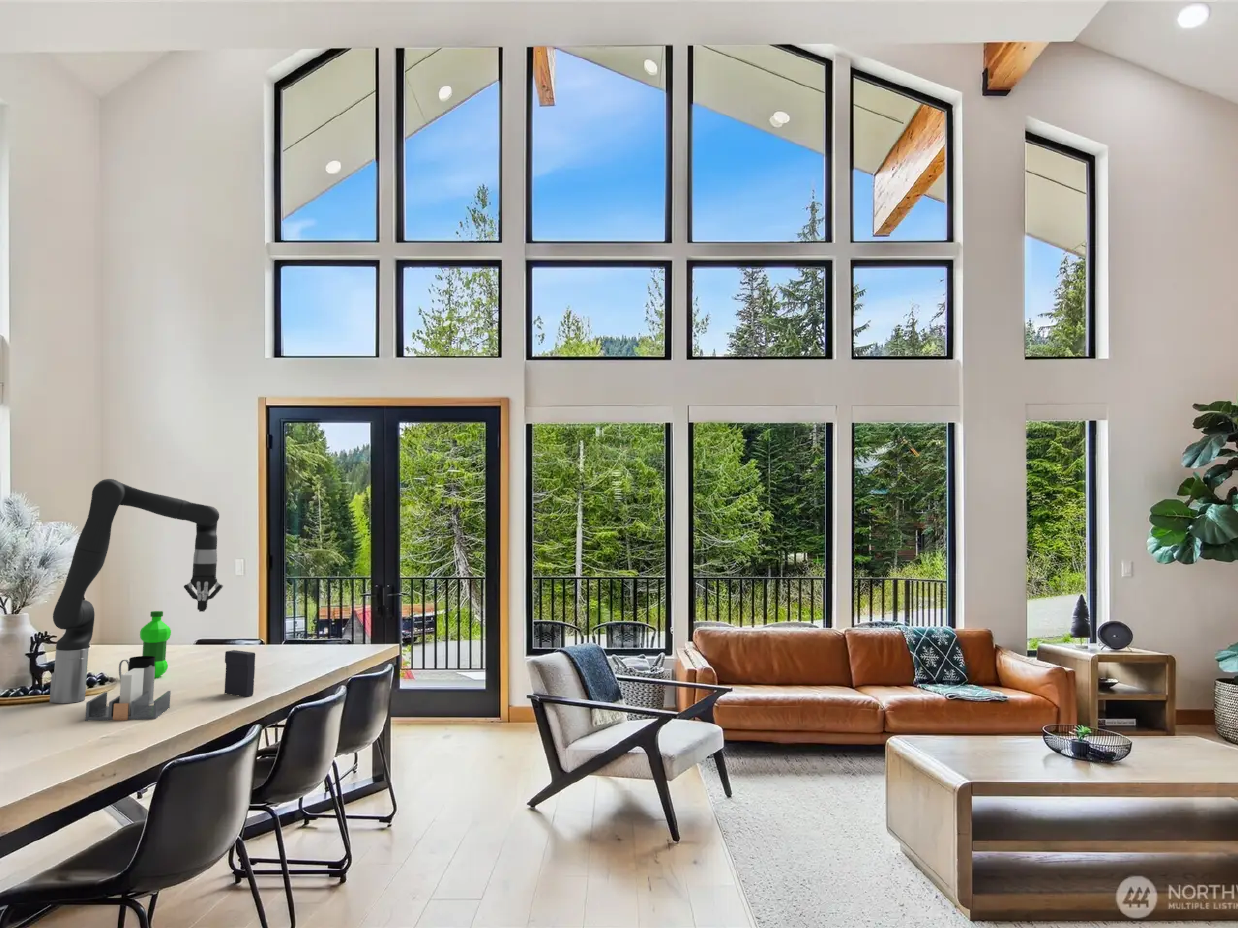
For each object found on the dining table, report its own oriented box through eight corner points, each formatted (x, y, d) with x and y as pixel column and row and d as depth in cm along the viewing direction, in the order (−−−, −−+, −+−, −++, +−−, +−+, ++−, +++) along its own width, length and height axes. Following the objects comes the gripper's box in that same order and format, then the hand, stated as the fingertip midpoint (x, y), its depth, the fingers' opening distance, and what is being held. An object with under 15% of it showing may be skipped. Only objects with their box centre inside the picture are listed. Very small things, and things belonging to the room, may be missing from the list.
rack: (84, 721, 252) (85, 702, 252) (103, 709, 267) (104, 692, 267) (155, 719, 256) (156, 701, 257) (169, 707, 271) (170, 690, 272)
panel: (118, 714, 257) (121, 675, 258) (131, 705, 269) (133, 668, 270) (129, 714, 258) (131, 674, 259) (141, 705, 269) (144, 668, 270)
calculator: (255, 695, 294) (257, 652, 295) (244, 697, 290) (247, 653, 291) (232, 691, 298) (235, 649, 299) (222, 693, 294) (225, 651, 295)
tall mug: (138, 707, 272) (140, 660, 273) (105, 702, 276) (108, 657, 277) (160, 701, 280) (163, 656, 281) (128, 697, 284) (131, 653, 285)
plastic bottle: (164, 673, 328) (168, 609, 330) (170, 677, 320) (174, 612, 322) (135, 675, 322) (139, 610, 324) (140, 680, 314) (145, 613, 315)
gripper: (181, 562, 291) (178, 612, 289) (222, 563, 294) (219, 612, 292) (187, 561, 298) (184, 610, 297) (227, 561, 301) (224, 610, 300)
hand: (202, 611), depth 295 cm, fingers closed
